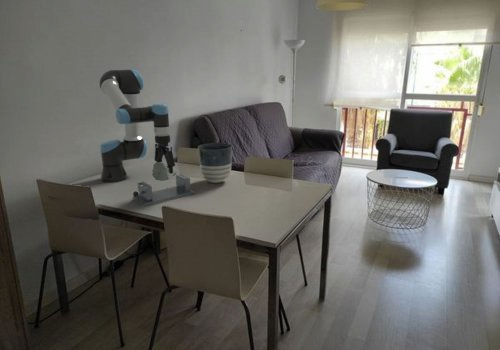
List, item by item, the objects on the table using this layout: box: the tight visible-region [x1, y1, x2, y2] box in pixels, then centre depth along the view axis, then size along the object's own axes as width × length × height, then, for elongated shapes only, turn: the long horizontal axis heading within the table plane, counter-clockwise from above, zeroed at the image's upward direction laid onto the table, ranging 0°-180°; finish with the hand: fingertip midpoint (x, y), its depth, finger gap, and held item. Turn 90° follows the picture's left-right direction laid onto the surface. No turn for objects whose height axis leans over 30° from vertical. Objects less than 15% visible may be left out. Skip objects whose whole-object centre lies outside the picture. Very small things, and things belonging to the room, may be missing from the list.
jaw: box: [132, 180, 153, 201], centre depth 186 cm, size 10×8×8 cm
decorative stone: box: [151, 161, 178, 182], centre depth 193 cm, size 13×11×10 cm
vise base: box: [132, 173, 195, 207], centre depth 194 cm, size 14×28×9 cm, turn 130°
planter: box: [197, 142, 233, 184], centre depth 217 cm, size 20×20×21 cm
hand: (165, 176), depth 194 cm, fingers closed on decorative stone, 10 cm apart
